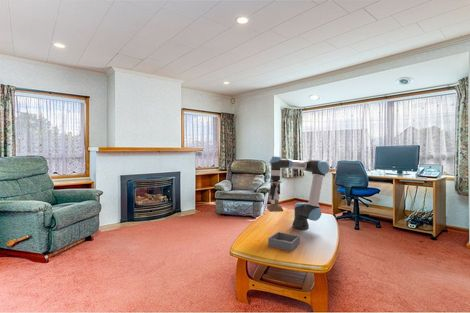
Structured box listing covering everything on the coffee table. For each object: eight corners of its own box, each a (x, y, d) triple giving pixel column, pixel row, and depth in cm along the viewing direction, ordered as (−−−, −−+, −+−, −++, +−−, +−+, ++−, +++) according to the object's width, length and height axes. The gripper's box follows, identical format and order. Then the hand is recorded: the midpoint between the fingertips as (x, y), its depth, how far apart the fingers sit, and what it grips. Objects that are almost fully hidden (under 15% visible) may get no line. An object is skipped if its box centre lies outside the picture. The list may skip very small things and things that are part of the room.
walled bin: (277, 238, 207) (277, 231, 207) (299, 243, 197) (299, 236, 197) (268, 245, 192) (268, 238, 192) (291, 251, 182) (291, 243, 182)
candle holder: (270, 211, 202) (271, 182, 201) (266, 208, 213) (267, 180, 212) (283, 211, 204) (284, 182, 203) (278, 208, 214) (279, 180, 214)
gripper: (276, 174, 218) (276, 200, 218) (265, 175, 201) (265, 204, 202) (284, 174, 213) (284, 201, 214) (274, 176, 197) (273, 205, 198)
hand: (274, 202), depth 208 cm, fingers closed on candle holder, 7 cm apart
